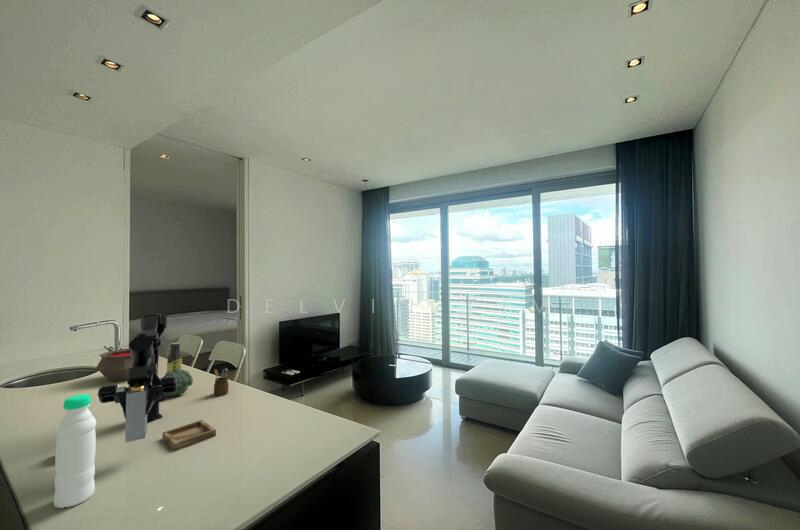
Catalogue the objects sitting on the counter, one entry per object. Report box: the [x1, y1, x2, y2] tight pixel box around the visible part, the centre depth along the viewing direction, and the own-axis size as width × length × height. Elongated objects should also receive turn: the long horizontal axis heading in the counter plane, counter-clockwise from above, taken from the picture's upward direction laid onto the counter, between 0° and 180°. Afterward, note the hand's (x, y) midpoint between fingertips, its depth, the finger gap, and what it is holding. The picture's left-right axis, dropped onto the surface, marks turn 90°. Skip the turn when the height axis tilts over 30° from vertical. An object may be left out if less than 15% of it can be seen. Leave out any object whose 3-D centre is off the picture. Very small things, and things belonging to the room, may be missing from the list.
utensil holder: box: [213, 368, 230, 397], centre depth 149 cm, size 6×6×12 cm
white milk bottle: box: [53, 393, 97, 509], centre depth 79 cm, size 7×7×25 cm
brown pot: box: [95, 346, 133, 383], centre depth 172 cm, size 24×24×16 cm
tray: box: [162, 419, 217, 452], centre depth 109 cm, size 12×12×2 cm
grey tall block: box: [124, 385, 148, 443], centre depth 97 cm, size 4×4×15 cm
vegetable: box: [160, 369, 194, 399], centre depth 149 cm, size 12×13×15 cm
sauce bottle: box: [166, 342, 183, 373], centre depth 164 cm, size 7×6×20 cm
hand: (136, 415), depth 95 cm, fingers closed on grey tall block, 4 cm apart
